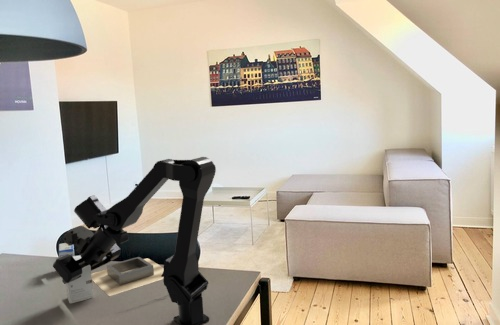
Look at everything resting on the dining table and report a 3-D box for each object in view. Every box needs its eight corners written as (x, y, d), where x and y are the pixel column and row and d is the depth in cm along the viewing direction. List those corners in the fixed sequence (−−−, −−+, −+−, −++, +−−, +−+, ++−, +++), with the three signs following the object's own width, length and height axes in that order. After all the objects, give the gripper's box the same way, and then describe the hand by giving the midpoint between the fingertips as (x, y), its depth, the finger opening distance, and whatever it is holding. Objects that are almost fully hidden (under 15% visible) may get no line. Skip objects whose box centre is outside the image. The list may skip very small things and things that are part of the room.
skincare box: (70, 307, 105) (65, 263, 103) (67, 301, 108) (62, 258, 107) (94, 300, 108) (90, 257, 107) (91, 294, 112) (86, 253, 110)
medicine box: (61, 269, 132) (58, 243, 131) (75, 266, 134) (73, 241, 133) (60, 277, 125) (58, 250, 124) (76, 274, 127) (73, 248, 126)
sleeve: (153, 275, 121) (153, 265, 121) (120, 285, 114) (119, 275, 114) (140, 265, 129) (139, 256, 129) (107, 274, 123) (106, 265, 122)
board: (175, 278, 120) (175, 275, 120) (109, 299, 108) (109, 296, 108) (147, 260, 136) (147, 258, 136) (87, 277, 124) (87, 274, 124)
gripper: (108, 209, 112) (82, 243, 118) (54, 228, 95) (26, 267, 101) (133, 238, 110) (106, 272, 116) (82, 263, 93) (53, 301, 99)
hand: (74, 276), depth 108 cm, fingers closed on skincare box, 7 cm apart
